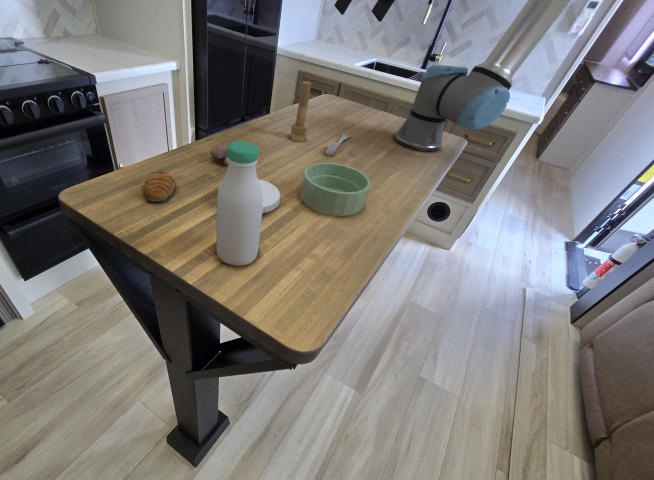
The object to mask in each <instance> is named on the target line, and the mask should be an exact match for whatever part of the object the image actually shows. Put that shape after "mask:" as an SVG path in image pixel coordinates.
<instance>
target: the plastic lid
mask: <svg viewBox="0 0 654 480" xmlns="http://www.w3.org/2000/svg"><path fill="white" fill-rule="evenodd" d="M258 181H259V183H260V186H261V190H262V195H263V206H262V215H263V214H266V213H269V212H272V211H273V210H275V209H276V208H277V207H278V206H279V205H280V202H281V201H280V199H281V192H280V190H279V188H278V187H277V186H275V185H274V184H272V183H271V182H268V181H266V180H263V179H260V178H258ZM218 191H219V189H218V190H217V192H218Z"/></svg>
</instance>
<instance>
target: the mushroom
mask: <svg viewBox="0 0 654 480" xmlns="http://www.w3.org/2000/svg"><path fill="white" fill-rule="evenodd" d="M228 145H229V144H218V145H215V146H213V147H212V148H211V149H210V155H211V156H212V158H213V159H216V160H221V159H223V164H224V165H226V166H228V164H229V162H228V161H227V157H228V156H227V147H228Z"/></svg>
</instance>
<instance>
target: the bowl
mask: <svg viewBox="0 0 654 480" xmlns="http://www.w3.org/2000/svg"><path fill="white" fill-rule="evenodd" d="M371 186H372V182H371V180H370V178H369V177H368V176H367V175H366V174H365V173H364V172H362V171H361V170H359V169H357V168H354V167H351V166H349V165H346V164H342V163H336V162H316V163H313V164H310V165H309V166H308V165H307V167H305V169H304V170H303V174H302V179H301V185H300V190H299V197H300V199H301V200H302V201H303V203H304V204H305V205H306V206H308V207H309V208H311V209H312V210H315V211H317V212H319V213H323V214H327V215H331V216H332V215H333V216H340V217H341V216H353V215H355V214H357V213H359V212H361V211H362V210H363V209H364V206H365V204H366V201H367V198H368V195H369V192H370V190H371Z"/></svg>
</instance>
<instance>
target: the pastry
mask: <svg viewBox="0 0 654 480" xmlns="http://www.w3.org/2000/svg"><path fill="white" fill-rule="evenodd" d="M176 183H177V181H176V179H175V178H174V177H173V175H171V173H170V172H169V171H167V170H165V169H157V170H155V171H151V172H150V173H149V174H148V177H146V178H145V180H144V184H143V190H144V192H145V193H144V194H145V197H146V198H147V200H148V201H149V202H164V201H167V200H168V198H169V197H170V198H171V196H172V195H173V192H174V190H175V186H176Z"/></svg>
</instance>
